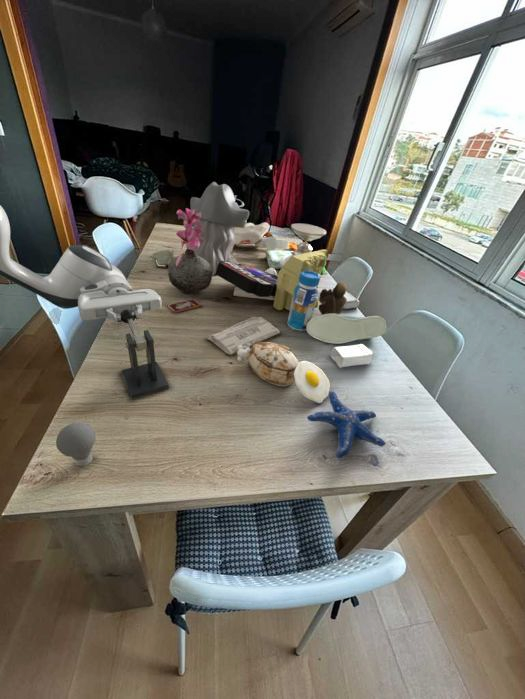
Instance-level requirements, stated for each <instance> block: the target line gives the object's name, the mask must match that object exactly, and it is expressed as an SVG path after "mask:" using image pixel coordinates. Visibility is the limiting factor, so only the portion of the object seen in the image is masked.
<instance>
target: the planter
mask: <svg viewBox="0 0 525 699" xmlns="http://www.w3.org/2000/svg"><path fill="white" fill-rule="evenodd" d="M233 297H240V298H251V299H258V300H267V301H274V300H275V296H271V295H270V297H259V296H256V295H254V294H253V293H247V292H245V291H243V290H241V289H240V288H238V287H236V286H235V285H234V290H233Z"/></svg>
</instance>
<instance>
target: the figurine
mask: <svg viewBox="0 0 525 699" xmlns="http://www.w3.org/2000/svg"><path fill="white" fill-rule="evenodd" d="M245 340H246V342H249V341H251V339H249V338H245ZM240 341H241V340H240ZM243 342H244V340H243V341H242V344H243ZM244 343H245V342H244ZM242 344H241V345H239V346H238V352H236V354H237V361H238V362H242V361H243V359H245V358H247V357H249V352H250V350H251V348H252V347H253V345H251V343H250V344H249V343H247V344H249V347H247V346H242ZM250 345H251V346H250ZM244 347H246V348H244ZM243 348H244V349H243Z"/></svg>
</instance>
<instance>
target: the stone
mask: <svg viewBox="0 0 525 699" xmlns="http://www.w3.org/2000/svg"><path fill="white" fill-rule="evenodd" d="M174 255H175V253H174V250H171V249H162V250H158V251H156V252H153V253H152V254H151V257H153V258H154V257H155V258H154V260H155V259H156V260H157V262H158V264H159V265H166V266H158V265H157V264H156V267H157V268H164V269H166V268H167V266H169V264H170V263H171V261H172V260H173V259H174ZM156 260H155V261H156Z"/></svg>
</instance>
